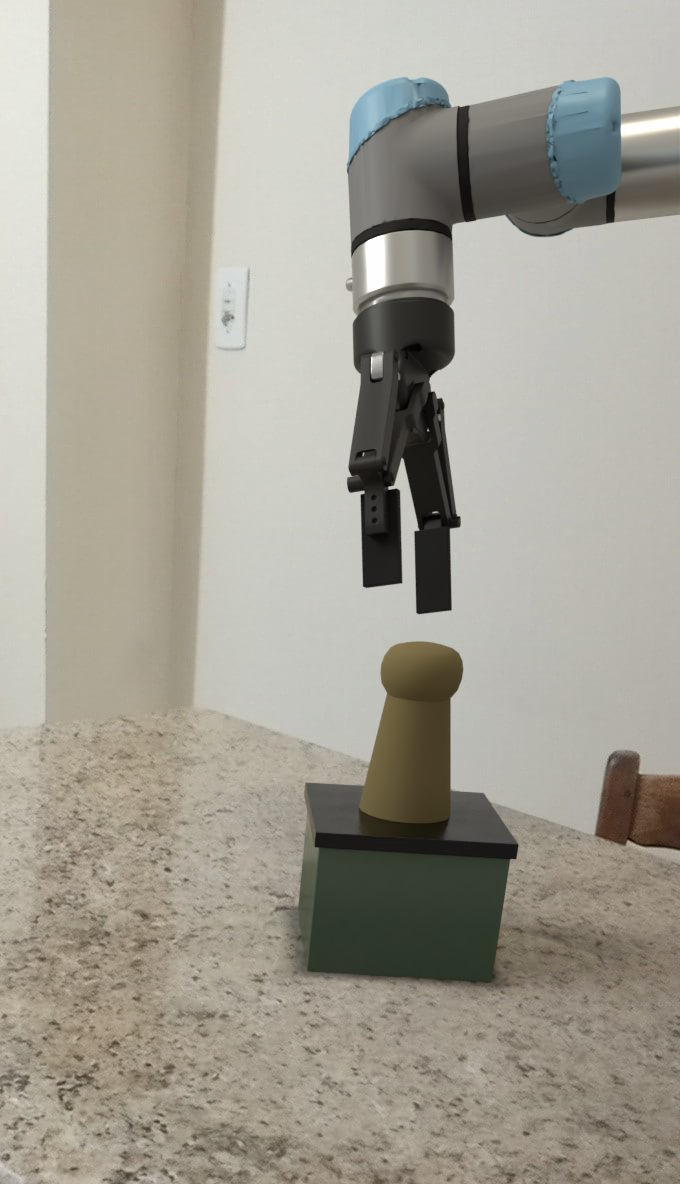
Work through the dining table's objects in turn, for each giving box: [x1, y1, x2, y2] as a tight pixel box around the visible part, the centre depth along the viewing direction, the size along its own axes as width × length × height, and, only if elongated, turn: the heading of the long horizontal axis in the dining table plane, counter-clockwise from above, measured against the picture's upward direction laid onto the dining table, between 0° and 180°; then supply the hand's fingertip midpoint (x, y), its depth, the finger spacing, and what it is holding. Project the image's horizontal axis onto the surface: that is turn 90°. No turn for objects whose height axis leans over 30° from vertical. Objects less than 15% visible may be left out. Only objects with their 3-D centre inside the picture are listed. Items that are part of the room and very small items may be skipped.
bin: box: [297, 782, 520, 983], centre depth 93 cm, size 13×13×10 cm
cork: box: [359, 640, 464, 823], centre depth 89 cm, size 6×6×11 cm
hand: (409, 599), depth 105 cm, fingers open, 13 cm apart
